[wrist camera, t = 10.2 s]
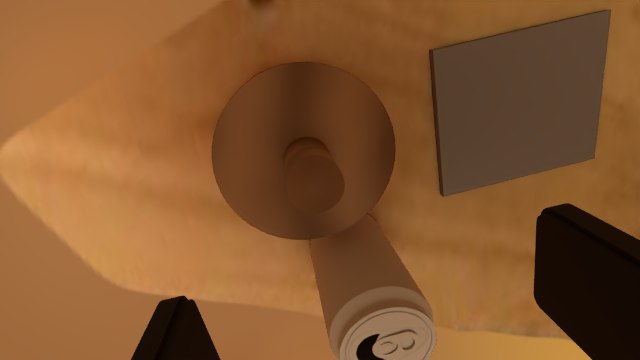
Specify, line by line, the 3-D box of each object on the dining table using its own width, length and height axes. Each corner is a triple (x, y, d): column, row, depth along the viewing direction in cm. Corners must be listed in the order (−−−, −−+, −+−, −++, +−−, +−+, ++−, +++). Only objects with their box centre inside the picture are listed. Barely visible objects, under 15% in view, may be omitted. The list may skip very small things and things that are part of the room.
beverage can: (299, 219, 28) (318, 326, 17) (371, 196, 29) (435, 287, 18) (320, 277, 31) (348, 404, 20) (386, 256, 31) (450, 370, 20)
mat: (603, 10, 26) (611, 9, 25) (588, 156, 30) (594, 158, 30) (429, 50, 25) (433, 50, 24) (440, 194, 30) (443, 196, 29)
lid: (376, 43, 20) (414, 39, 14) (398, 208, 24) (434, 252, 18) (188, 85, 19) (157, 99, 14) (244, 247, 23) (237, 304, 18)
